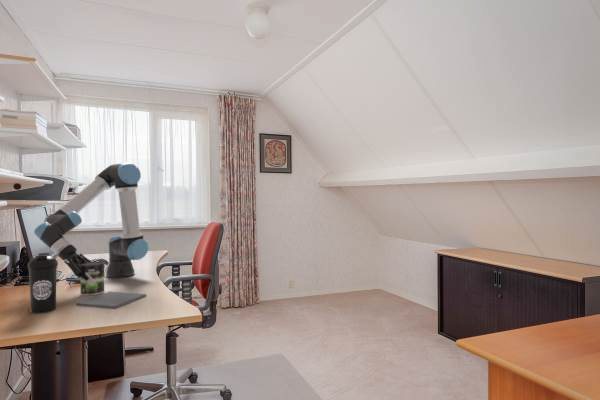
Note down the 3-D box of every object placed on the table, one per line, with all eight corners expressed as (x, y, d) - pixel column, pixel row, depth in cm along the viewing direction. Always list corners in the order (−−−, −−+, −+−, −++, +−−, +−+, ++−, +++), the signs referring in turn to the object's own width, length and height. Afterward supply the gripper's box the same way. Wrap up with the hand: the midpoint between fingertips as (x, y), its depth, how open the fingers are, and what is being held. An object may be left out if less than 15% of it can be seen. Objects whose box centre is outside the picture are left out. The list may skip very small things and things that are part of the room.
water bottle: (26, 315, 151) (25, 256, 151) (30, 308, 160) (29, 253, 160) (57, 311, 156) (56, 254, 156) (59, 305, 165) (58, 251, 165)
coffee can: (104, 294, 183) (103, 264, 183) (79, 296, 179) (78, 266, 179) (105, 289, 193) (105, 261, 192) (81, 291, 188) (81, 262, 188)
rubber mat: (109, 293, 184) (109, 291, 184) (146, 296, 179) (146, 293, 179) (75, 305, 165) (75, 302, 165) (115, 308, 160) (115, 306, 160)
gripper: (70, 251, 195) (103, 281, 197) (44, 259, 173) (82, 293, 174) (81, 240, 196) (113, 271, 197) (57, 247, 173) (94, 281, 175)
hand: (99, 281), depth 186 cm, fingers closed on coffee can, 10 cm apart
